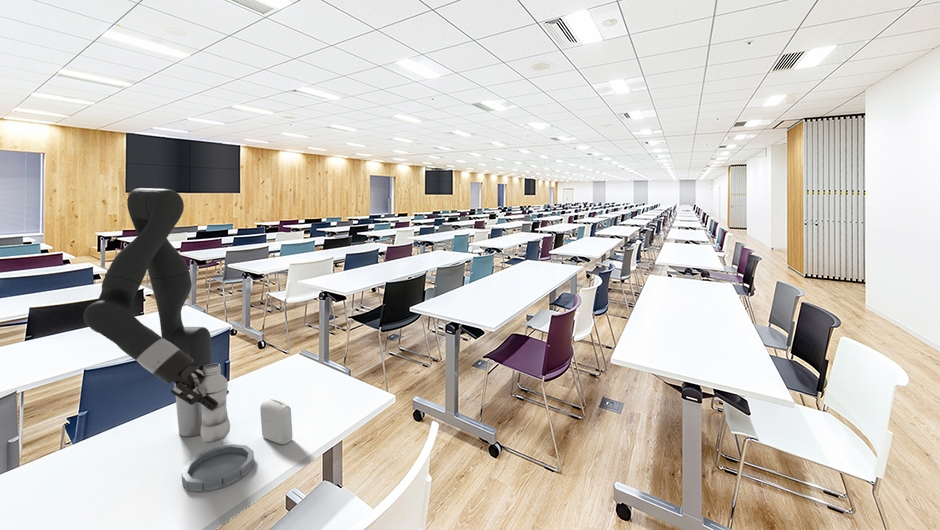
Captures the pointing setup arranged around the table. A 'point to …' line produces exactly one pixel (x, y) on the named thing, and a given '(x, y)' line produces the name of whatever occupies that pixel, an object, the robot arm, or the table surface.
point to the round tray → (217, 468)
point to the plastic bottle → (217, 419)
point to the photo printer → (276, 421)
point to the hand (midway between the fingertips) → (221, 400)
